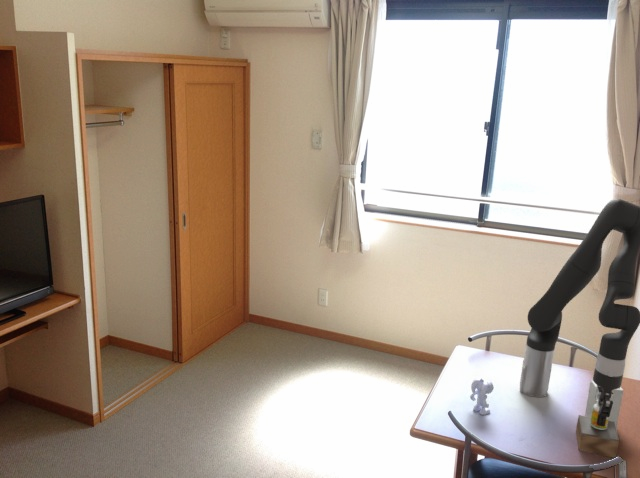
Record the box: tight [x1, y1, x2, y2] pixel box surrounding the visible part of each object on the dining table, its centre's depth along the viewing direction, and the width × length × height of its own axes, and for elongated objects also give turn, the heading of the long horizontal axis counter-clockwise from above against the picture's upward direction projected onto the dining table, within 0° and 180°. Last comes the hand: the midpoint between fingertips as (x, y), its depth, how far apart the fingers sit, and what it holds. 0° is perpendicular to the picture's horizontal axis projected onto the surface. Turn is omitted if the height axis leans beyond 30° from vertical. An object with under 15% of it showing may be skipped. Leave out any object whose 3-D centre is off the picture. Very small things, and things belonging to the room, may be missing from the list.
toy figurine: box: [470, 378, 494, 416], centre depth 193 cm, size 7×6×12 cm
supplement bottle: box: [590, 399, 609, 430], centre depth 176 cm, size 5×5×8 cm
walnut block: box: [575, 414, 620, 459], centre depth 178 cm, size 10×10×6 cm
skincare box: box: [584, 379, 624, 430], centre depth 187 cm, size 8×6×15 cm
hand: (599, 420), depth 177 cm, fingers closed on supplement bottle, 4 cm apart
